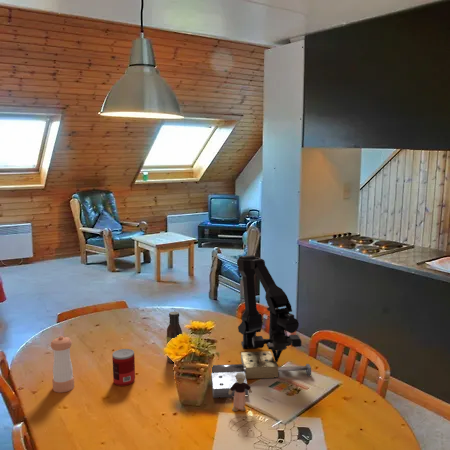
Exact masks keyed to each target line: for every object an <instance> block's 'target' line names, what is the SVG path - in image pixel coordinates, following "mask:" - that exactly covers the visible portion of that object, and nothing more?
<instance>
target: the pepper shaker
mask: <svg viewBox="0 0 450 450" xmlns="http://www.w3.org/2000/svg"><path fill="white" fill-rule="evenodd" d="M72 344H73V342H72V340H71V338H70V337H66V336H65V337H64V336H62V335H61V336H59V337H57V338H54V339H53V340H52V341H51V343H50V347H51V349H52V350H53V365H52V376H53V378H52V391H54V392H55V393H66V392H70V391H72V390H73V389H74V388H75V377H74V374H73V372H74V371H73V364H72V360H71V350H70V348H71V346H72Z"/></svg>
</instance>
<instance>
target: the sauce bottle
mask: <svg viewBox="0 0 450 450" xmlns="http://www.w3.org/2000/svg"><path fill="white" fill-rule="evenodd" d="M168 317H169V325H168V326H167V328H166V344H167V343H168V342H169V341H170V340H171V339H172V338H175V337H177V335H179V334H182V335H183V331H182V327H181V325H180V312H178V311H170V312H169V313H168ZM166 359H167V362H168V363H171V364H174V363H173V361H172V360H171V359H170V358H169V357H168V356H167V355H166Z"/></svg>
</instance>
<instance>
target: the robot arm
mask: <svg viewBox="0 0 450 450" xmlns="http://www.w3.org/2000/svg"><path fill="white" fill-rule="evenodd" d="M236 265H237V271H238V272H239V274H240V275H241V277H242V284H243V296H244V298H243V299H244V312H243V314H242V316H241V323H240V324H239V325H238V327H237V330H238V333H240V334H241V335H242V341H241V342H240V343H241V347H242V349H263V348H264V347H265V345H266V346H267V349H268V350H271V354H272V356H273V359H274V361H276V362H277V363H278V362H279V359H280V357H281V354H282V352H283V351H285V350H287V349H288V347H290V346H293V347H294V348H300V347H302V345H303V344H302V339H301V338H300V336H299V335H298V334H294V333H295V332H297V331H298V328H299V326H300V325H299V324H300V323H299V320H298V319H297V318H295V314H293V313H292V312H293V309H292V305H291V302H290V300H289V298H288V295H287V294H286V292H285V290H283V288H282V287H280V286H278V285H277V283H276V282H275V281H274V278H273V277H272V275H271V273H270V271H269V269H268V268H267V266H266V261H265V260H264V259H263V258H261V257H256V256H255V255H254V254H251V255H250V254H249V255H242V256H239V257H238V259H237V260H236ZM255 275H256V276H257V279H258V280H259V282H260V284H261V286H262V288H263V290H264V291H265V295H264V299H265V301H266V303H267V306H268V307H267V308H266V310H267V312H269V334H268V335H269V336H268V337H269V338H264V337H263V335H257V333H261V332H262V327H263V322H264V321H263V315H262V313H260V312H259V311H258V308H257V295H256V283H255ZM285 332H287V333H289V335H286V333H285Z"/></svg>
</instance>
